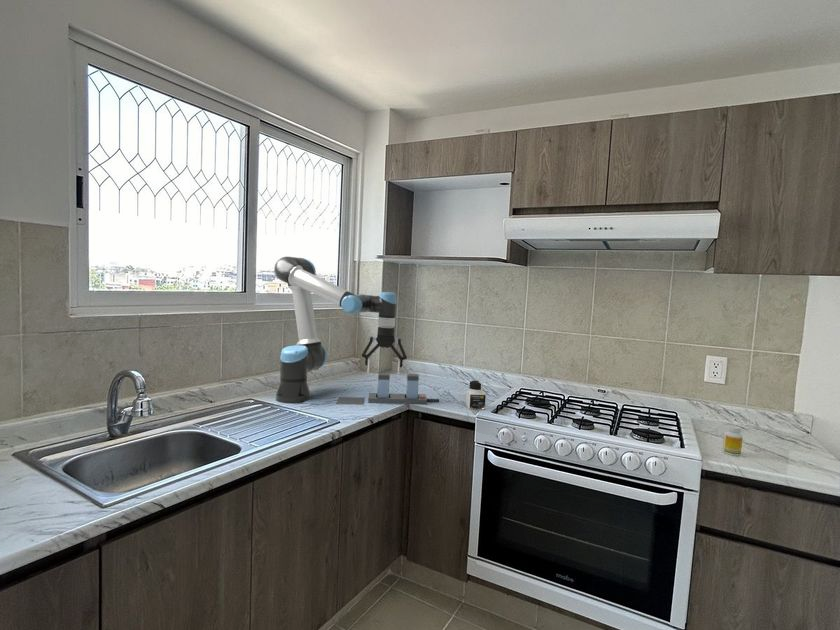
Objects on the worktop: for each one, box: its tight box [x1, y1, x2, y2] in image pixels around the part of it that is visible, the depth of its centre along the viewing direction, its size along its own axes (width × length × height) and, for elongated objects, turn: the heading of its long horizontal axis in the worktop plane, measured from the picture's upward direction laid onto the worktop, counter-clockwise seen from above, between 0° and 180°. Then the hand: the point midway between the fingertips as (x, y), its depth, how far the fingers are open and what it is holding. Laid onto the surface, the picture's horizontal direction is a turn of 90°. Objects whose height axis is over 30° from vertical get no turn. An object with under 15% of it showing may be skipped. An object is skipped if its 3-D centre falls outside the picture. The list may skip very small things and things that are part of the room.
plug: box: [377, 372, 391, 398], centre depth 202 cm, size 5×5×12 cm
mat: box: [335, 396, 366, 406], centre depth 202 cm, size 12×12×1 cm
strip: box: [367, 392, 440, 406], centre depth 203 cm, size 32×10×4 cm, turn 94°
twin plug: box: [405, 373, 420, 399], centre depth 203 cm, size 5×5×12 cm
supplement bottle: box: [722, 424, 744, 457], centre depth 158 cm, size 5×5×10 cm
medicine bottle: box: [465, 380, 487, 410], centre depth 201 cm, size 7×7×12 cm
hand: (383, 373), depth 202 cm, fingers open, 13 cm apart
